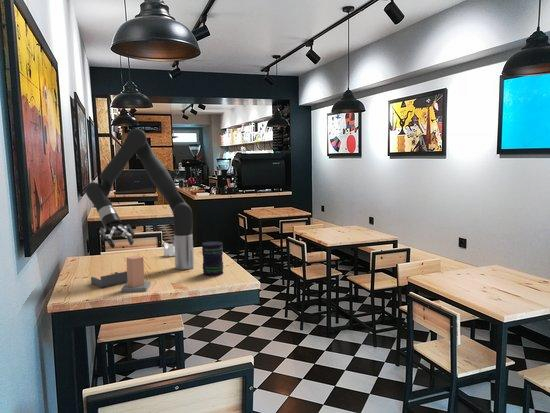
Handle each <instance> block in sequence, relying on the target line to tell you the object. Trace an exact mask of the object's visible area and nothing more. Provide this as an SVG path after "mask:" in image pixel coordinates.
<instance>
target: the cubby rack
mask: <svg viewBox="0 0 550 413" xmlns="http://www.w3.org/2000/svg"><path fill="white" fill-rule="evenodd" d="M127 282H128V281H127V270H126V271H122V272H121V271H120V272H118V271H115V272H114V273H112V274H107V275H101V276H100V278H97V277H95V276H90V284H91V285H93V286H96V287H98V288H101V289H105V288H109V287H114V286H119V285H122V284H124V285H125V284H126V283H127Z"/></svg>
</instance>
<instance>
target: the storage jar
mask: <svg viewBox="0 0 550 413" xmlns="http://www.w3.org/2000/svg"><path fill="white" fill-rule="evenodd" d="M201 244H202V245H201V246H202V249H201V252H202V255H201V256H202V272H203V273H202V275H203V276H205V277H217V276H222V275H224V262H223V254H224V251H223V250H224V248H223V242H222V241H216V240H215V241H204V242H202V243H201Z"/></svg>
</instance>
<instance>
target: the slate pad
mask: <svg viewBox="0 0 550 413" xmlns="http://www.w3.org/2000/svg"><path fill="white" fill-rule="evenodd" d="M150 286H151V280H146V281H145V280H144V285H141V286H137V287H131V286H128V282H127V283H124V285H123V286H122V288H121V289H120V292H121V293H136V292H147V291H148V290H149V288H150Z"/></svg>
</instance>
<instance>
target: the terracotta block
mask: <svg viewBox="0 0 550 413" xmlns="http://www.w3.org/2000/svg"><path fill="white" fill-rule="evenodd" d="M125 259H126V260H125V261H126V271H127V281H128V286H131V287H137V286H141V285H144V282H145V268H144V263H145V262H144V256H141V255H133V256H127V257H126V258H125Z"/></svg>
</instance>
